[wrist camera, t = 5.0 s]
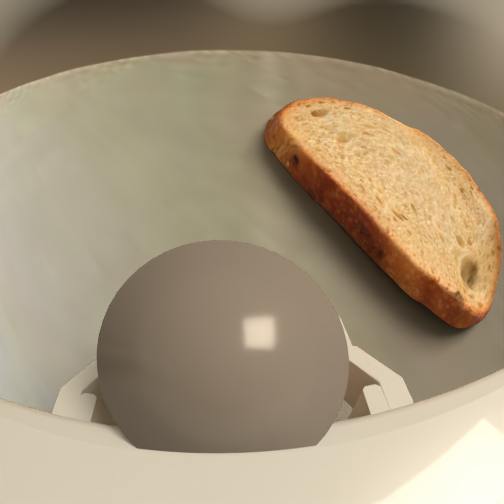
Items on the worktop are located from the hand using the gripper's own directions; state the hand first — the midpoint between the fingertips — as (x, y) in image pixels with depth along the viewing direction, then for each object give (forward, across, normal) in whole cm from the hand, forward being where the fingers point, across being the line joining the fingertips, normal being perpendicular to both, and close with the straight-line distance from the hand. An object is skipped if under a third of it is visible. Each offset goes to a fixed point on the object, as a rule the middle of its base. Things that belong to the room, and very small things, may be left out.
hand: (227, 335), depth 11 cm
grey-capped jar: (+4, 0, +5) cm, 6 cm away
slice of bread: (+10, -12, -1) cm, 15 cm away
